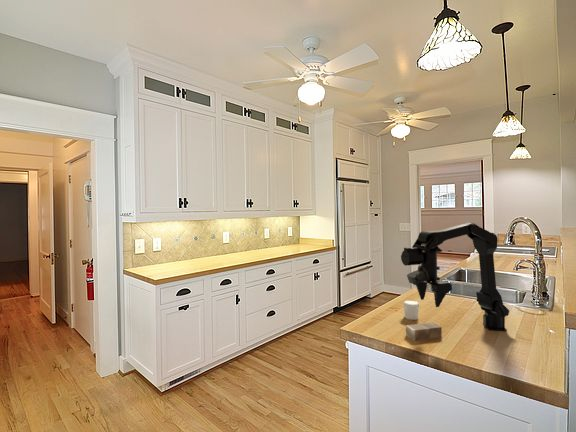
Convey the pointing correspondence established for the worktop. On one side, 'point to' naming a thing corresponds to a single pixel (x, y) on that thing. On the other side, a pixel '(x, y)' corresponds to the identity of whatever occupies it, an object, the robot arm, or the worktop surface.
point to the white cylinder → (411, 309)
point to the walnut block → (423, 331)
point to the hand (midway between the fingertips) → (429, 303)
